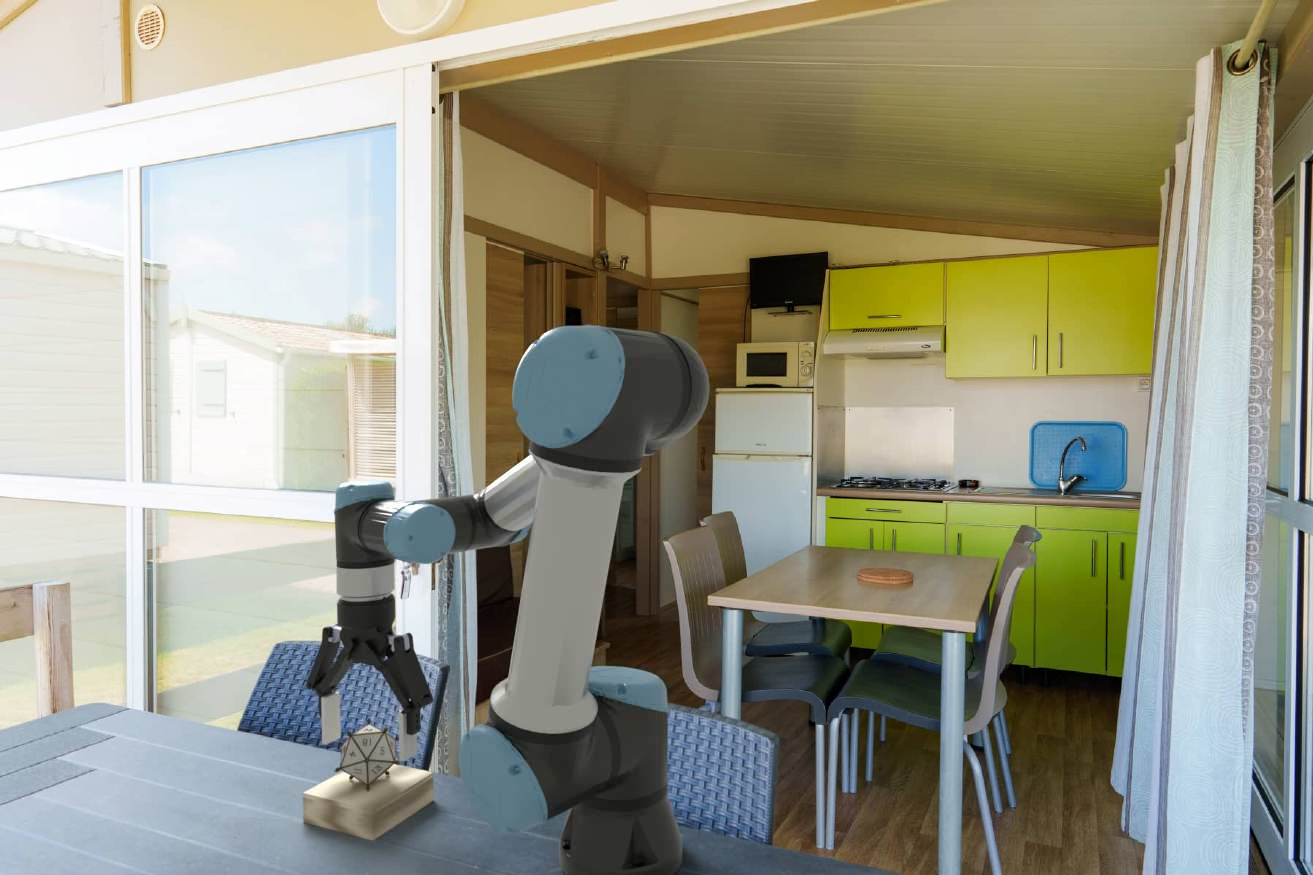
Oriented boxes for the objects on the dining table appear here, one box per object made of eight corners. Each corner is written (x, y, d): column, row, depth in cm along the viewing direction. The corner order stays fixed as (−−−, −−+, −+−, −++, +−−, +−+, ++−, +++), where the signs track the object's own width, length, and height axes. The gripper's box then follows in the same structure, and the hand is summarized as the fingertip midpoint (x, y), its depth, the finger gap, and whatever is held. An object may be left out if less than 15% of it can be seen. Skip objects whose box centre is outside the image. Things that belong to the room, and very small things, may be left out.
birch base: (433, 800, 120) (433, 772, 119) (372, 840, 109) (372, 809, 109) (367, 784, 125) (367, 758, 124) (303, 821, 114) (302, 792, 113)
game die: (359, 815, 115) (314, 771, 110) (362, 768, 122) (320, 726, 118) (417, 781, 115) (375, 736, 110) (417, 737, 123) (377, 693, 118)
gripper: (458, 597, 114) (460, 752, 115) (318, 581, 124) (321, 724, 125) (421, 609, 107) (423, 775, 108) (276, 592, 117) (280, 743, 118)
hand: (369, 748), depth 116 cm, fingers open, 13 cm apart
